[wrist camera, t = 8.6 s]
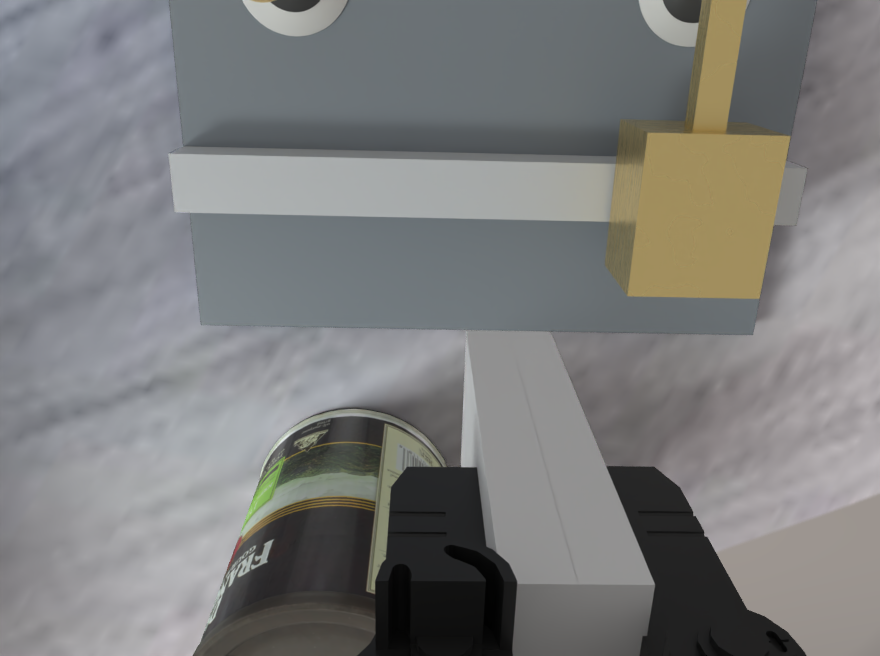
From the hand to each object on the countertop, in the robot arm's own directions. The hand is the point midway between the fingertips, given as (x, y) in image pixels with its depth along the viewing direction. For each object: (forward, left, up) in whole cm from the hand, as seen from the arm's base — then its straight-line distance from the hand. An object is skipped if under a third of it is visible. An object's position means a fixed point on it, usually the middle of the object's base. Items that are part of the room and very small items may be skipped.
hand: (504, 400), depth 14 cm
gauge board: (+1, +2, -22) cm, 22 cm away
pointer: (+9, +3, -20) cm, 22 cm away
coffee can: (-5, -17, -22) cm, 28 cm away
